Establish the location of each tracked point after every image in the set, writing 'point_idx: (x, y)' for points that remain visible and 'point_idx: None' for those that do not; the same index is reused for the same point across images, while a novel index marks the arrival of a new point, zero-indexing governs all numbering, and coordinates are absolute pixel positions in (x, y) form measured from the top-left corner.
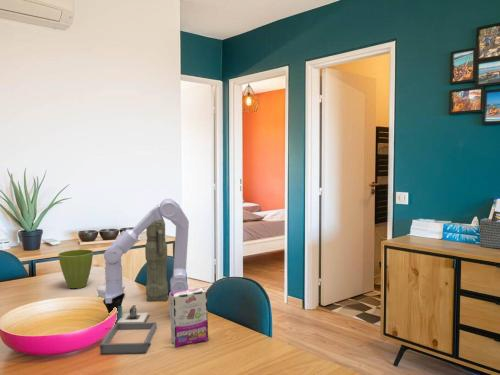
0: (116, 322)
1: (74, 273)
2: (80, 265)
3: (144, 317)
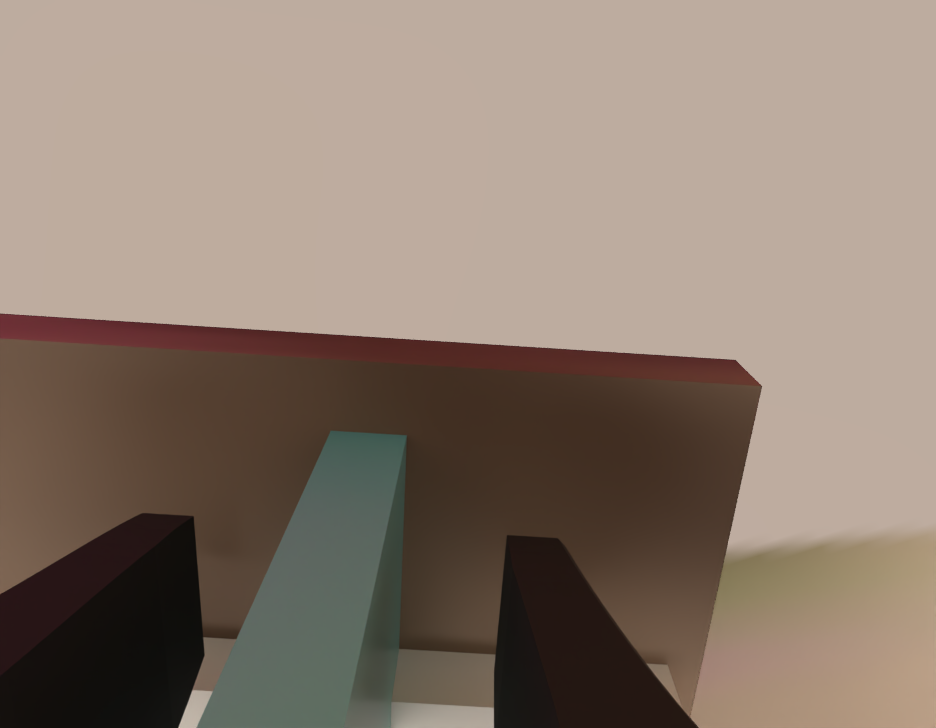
0: (221, 587)
1: None
2: None
3: None
